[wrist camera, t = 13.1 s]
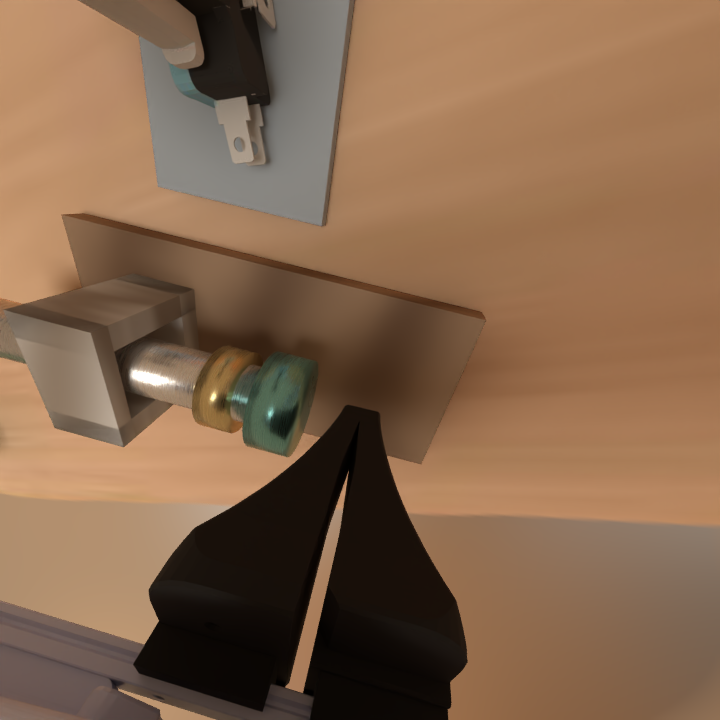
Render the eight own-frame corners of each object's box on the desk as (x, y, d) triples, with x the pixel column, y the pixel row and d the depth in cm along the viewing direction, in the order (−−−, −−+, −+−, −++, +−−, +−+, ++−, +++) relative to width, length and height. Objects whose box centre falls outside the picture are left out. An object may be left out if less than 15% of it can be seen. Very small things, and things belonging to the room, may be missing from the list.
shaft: (323, 344, 13) (289, 398, 10) (312, 413, 15) (281, 478, 12) (14, 265, 14) (-123, 289, 10) (44, 341, 16) (-63, 383, 12)
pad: (371, -135, 8) (369, -158, 7) (325, 224, 12) (321, 226, 12) (127, -183, 8) (108, -207, 8) (168, 186, 13) (158, 186, 12)
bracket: (481, 312, 13) (526, 389, 8) (420, 451, 18) (423, 559, 12) (83, 213, 14) (-119, 224, 9) (122, 371, 18) (5, 441, 13)
